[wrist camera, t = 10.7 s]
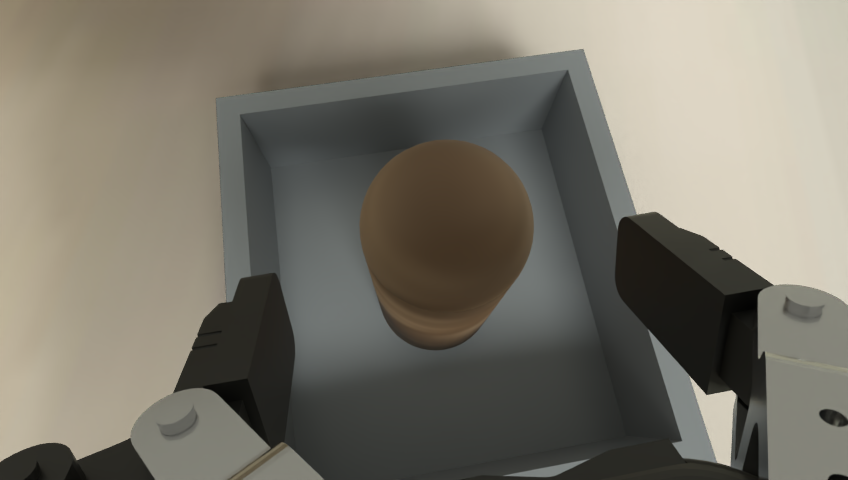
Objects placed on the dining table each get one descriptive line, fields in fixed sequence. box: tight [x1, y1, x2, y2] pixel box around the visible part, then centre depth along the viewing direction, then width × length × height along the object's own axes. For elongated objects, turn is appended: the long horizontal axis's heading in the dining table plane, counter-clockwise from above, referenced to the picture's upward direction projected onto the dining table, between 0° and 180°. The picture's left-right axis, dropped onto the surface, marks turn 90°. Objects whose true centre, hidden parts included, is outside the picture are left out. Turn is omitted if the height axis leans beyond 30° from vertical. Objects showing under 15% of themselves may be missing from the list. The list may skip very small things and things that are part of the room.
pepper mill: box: [359, 139, 534, 350], centre depth 16 cm, size 4×4×10 cm
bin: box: [216, 49, 717, 480], centre depth 19 cm, size 14×15×5 cm
